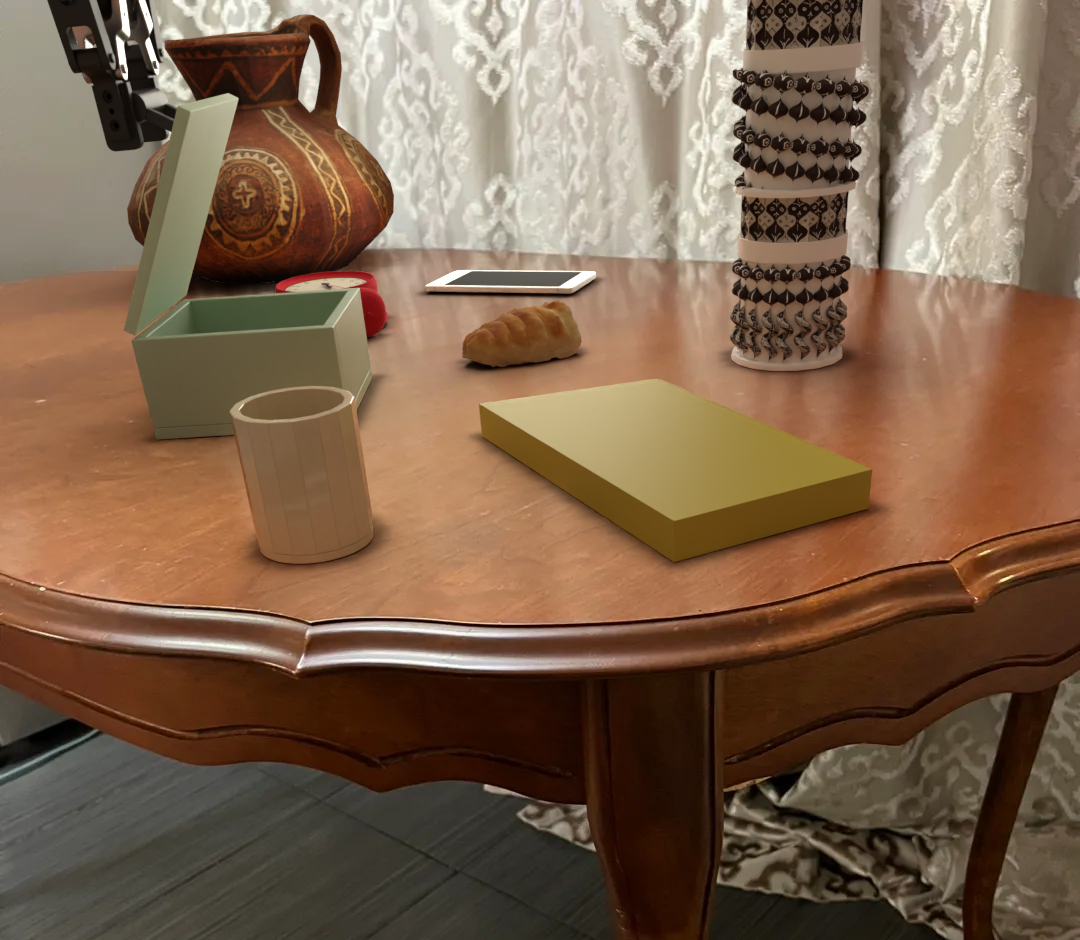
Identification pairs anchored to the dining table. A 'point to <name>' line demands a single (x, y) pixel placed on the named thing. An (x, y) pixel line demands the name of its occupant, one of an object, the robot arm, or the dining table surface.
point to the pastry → (525, 336)
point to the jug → (275, 161)
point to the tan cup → (304, 473)
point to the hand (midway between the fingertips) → (140, 144)
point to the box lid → (178, 198)
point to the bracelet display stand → (795, 180)
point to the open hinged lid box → (248, 355)
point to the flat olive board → (676, 464)
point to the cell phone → (512, 281)
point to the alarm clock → (344, 280)
